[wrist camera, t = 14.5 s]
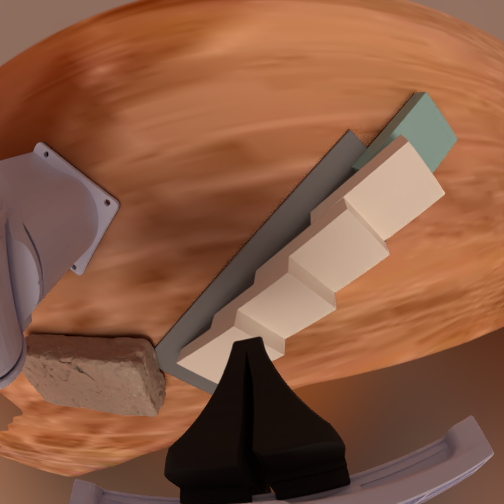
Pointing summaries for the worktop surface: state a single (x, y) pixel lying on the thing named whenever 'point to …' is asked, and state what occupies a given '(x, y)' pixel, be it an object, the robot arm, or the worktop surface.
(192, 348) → the ivory domino
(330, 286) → the ivory domino
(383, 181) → the ivory domino
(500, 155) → the worktop surface
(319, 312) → the ivory domino
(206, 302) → the mat
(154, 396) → the brick
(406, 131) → the teal domino
